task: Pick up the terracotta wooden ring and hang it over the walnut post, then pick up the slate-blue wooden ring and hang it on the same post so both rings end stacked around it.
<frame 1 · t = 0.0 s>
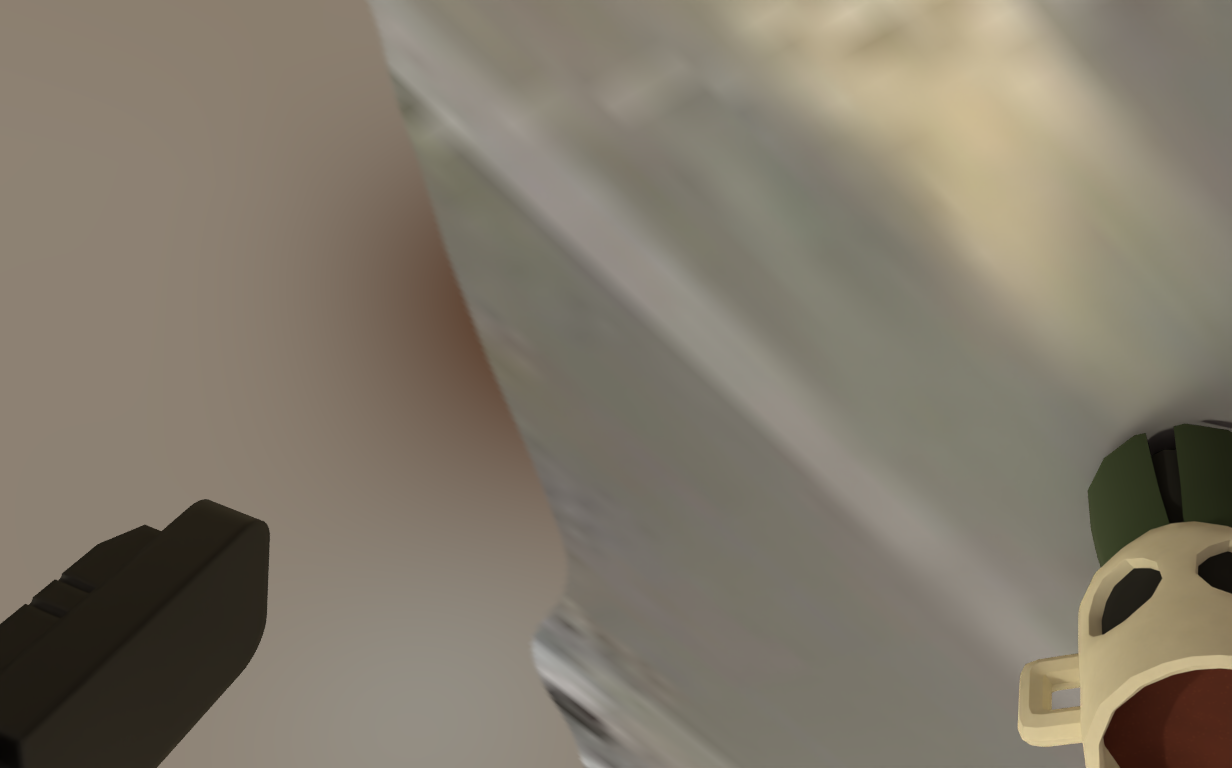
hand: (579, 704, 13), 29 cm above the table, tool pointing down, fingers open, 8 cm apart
character mug: (1183, 492, 40), on the table
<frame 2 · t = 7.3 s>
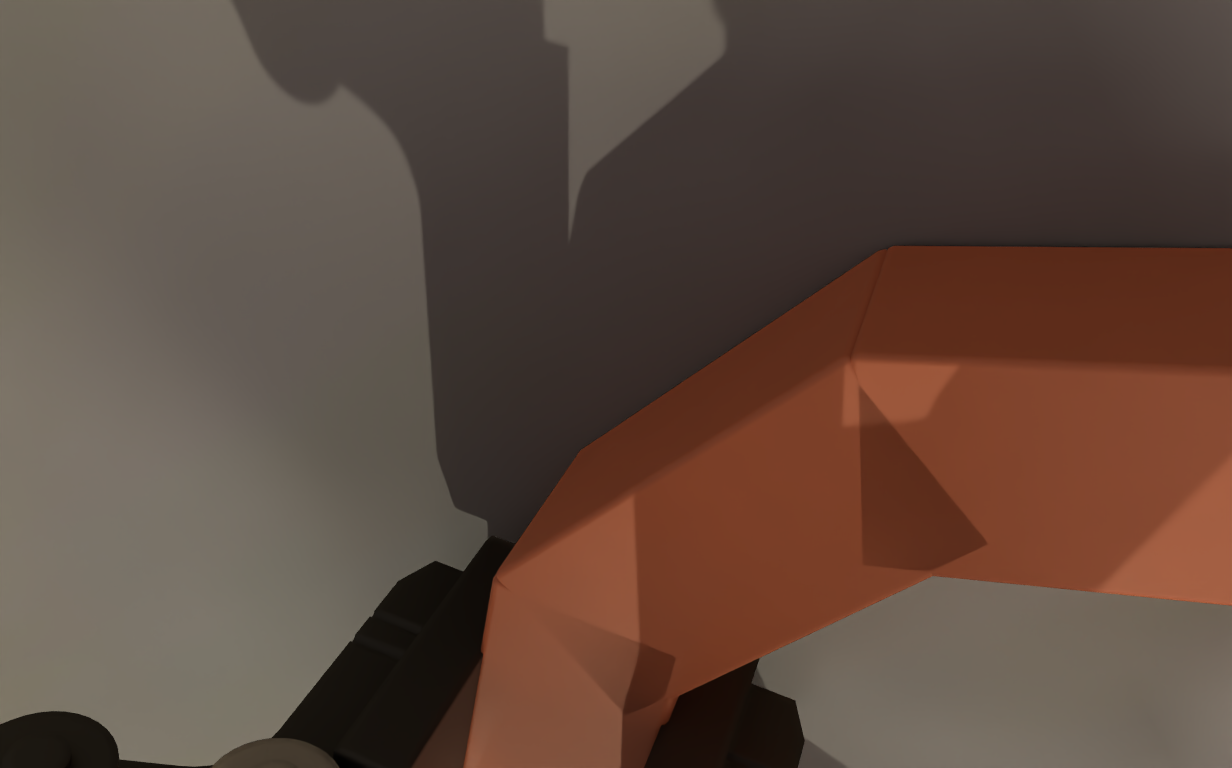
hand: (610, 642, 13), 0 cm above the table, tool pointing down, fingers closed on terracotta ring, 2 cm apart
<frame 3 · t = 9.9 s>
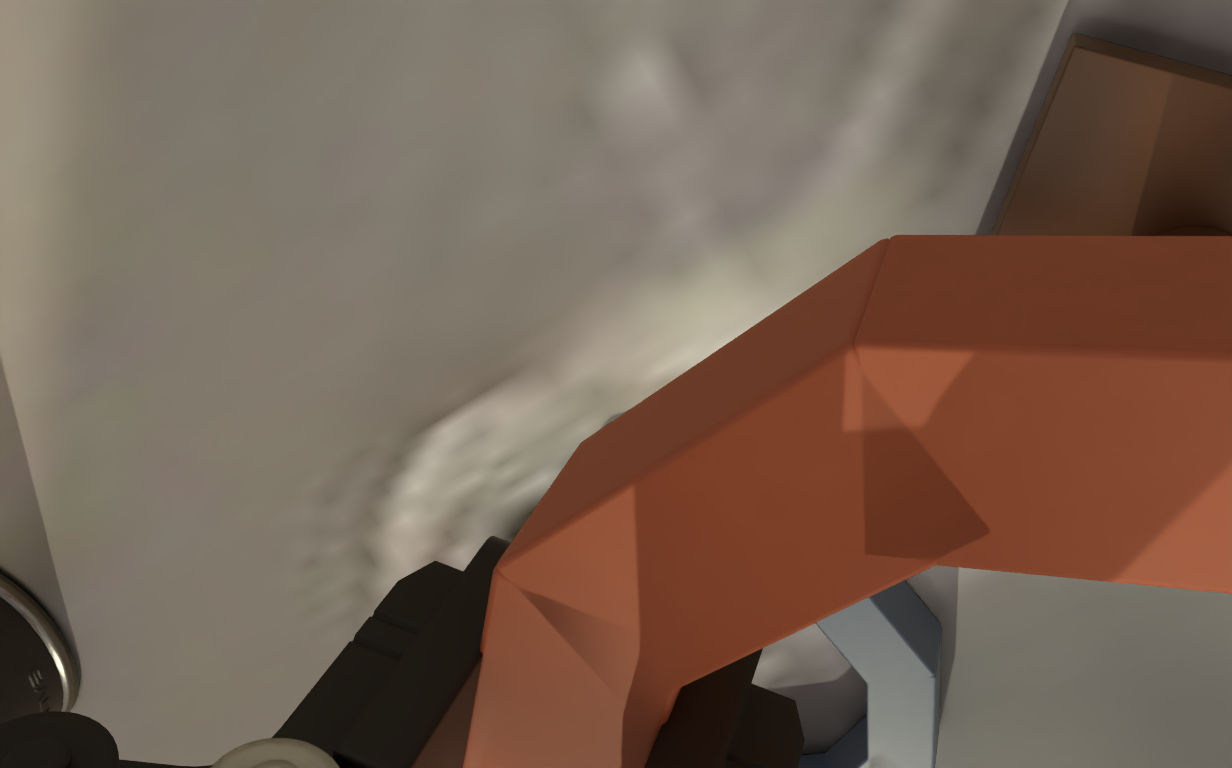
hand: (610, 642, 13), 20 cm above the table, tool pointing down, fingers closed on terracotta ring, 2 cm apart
slate ring: (737, 652, 38), on the table
post: (1181, 263, 28), on the table
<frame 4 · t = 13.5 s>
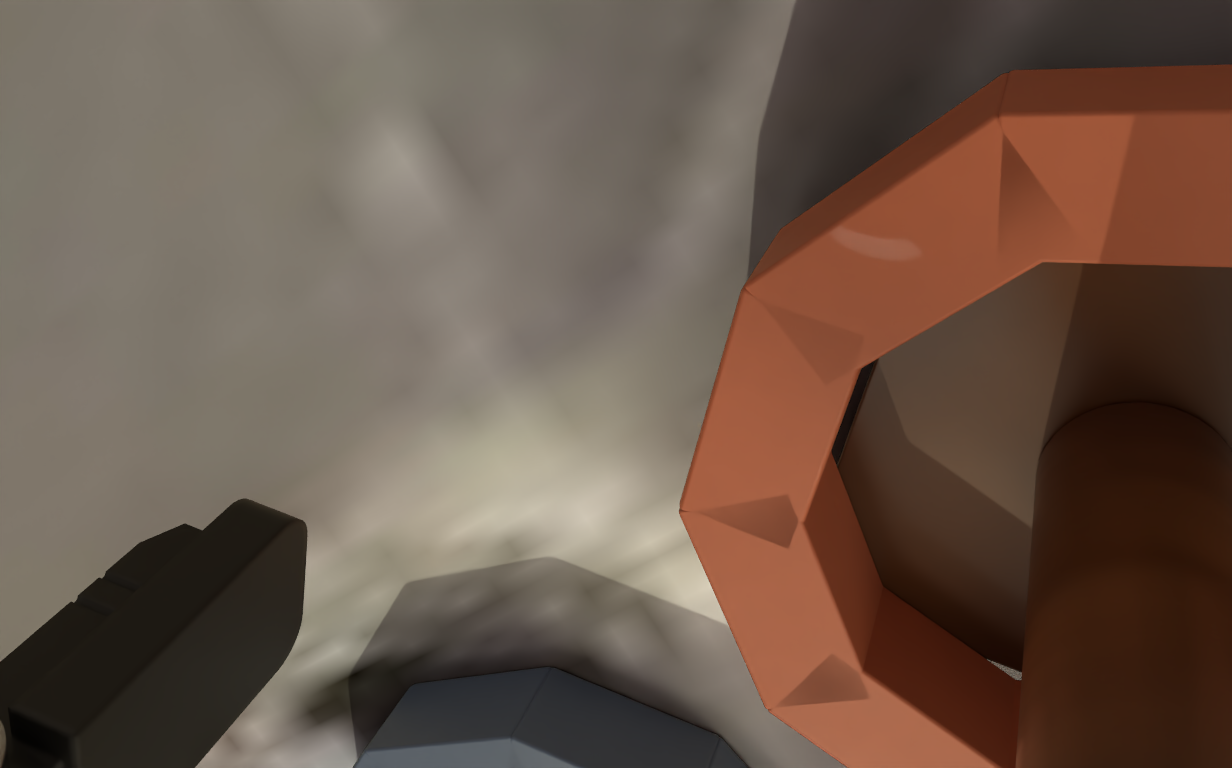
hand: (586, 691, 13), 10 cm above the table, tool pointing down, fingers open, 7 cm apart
terracotta ring: (1126, 474, 19), point 1 cm above the table, touching post
post: (1131, 436, 20), on the table
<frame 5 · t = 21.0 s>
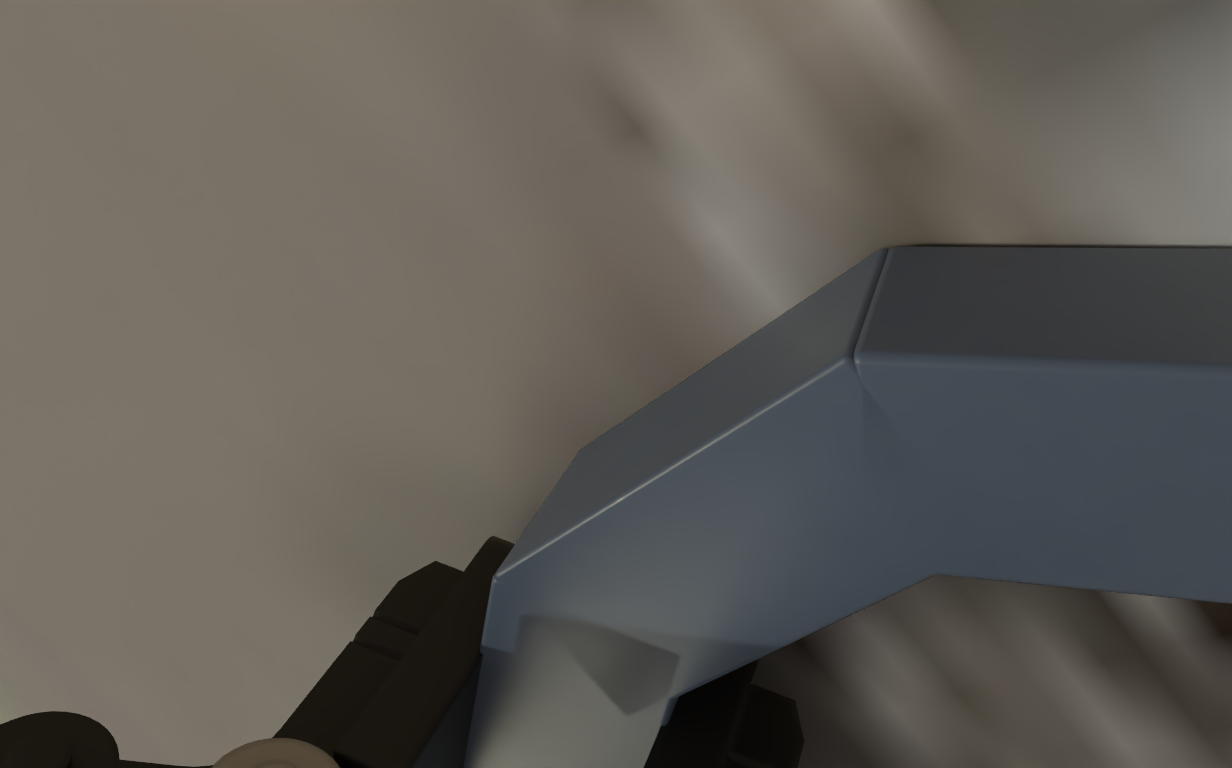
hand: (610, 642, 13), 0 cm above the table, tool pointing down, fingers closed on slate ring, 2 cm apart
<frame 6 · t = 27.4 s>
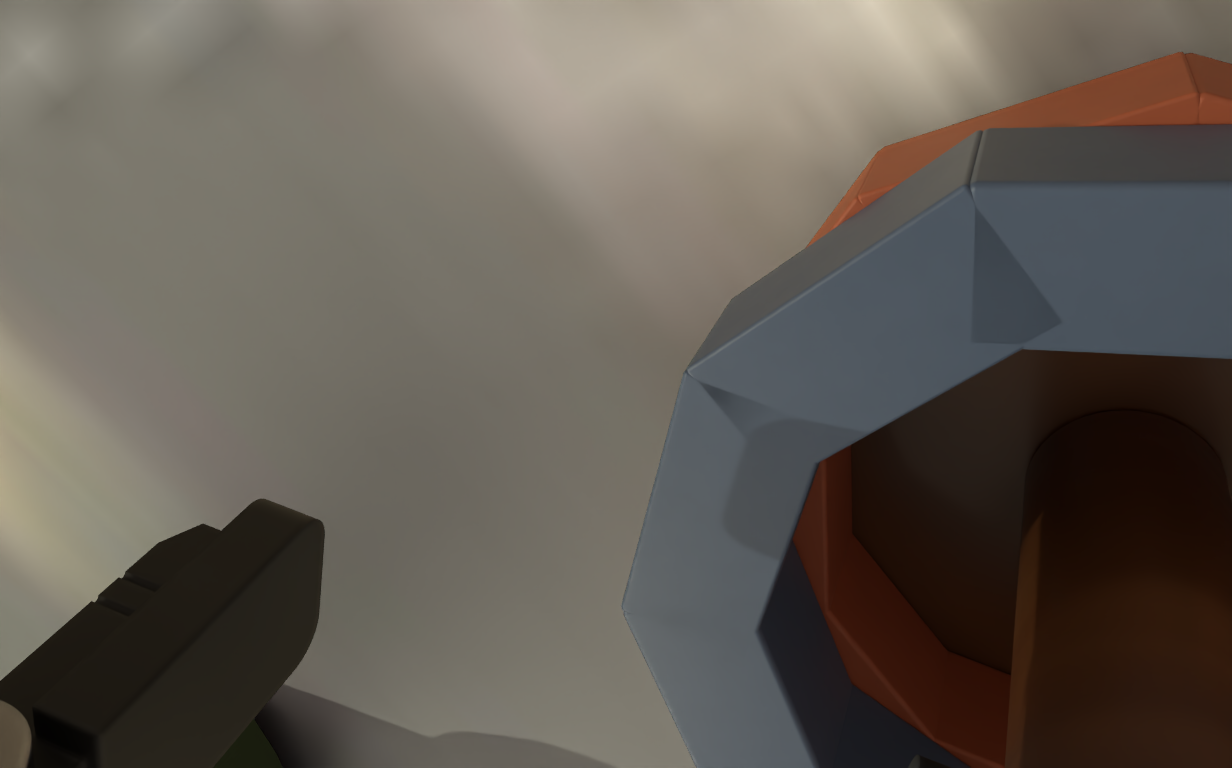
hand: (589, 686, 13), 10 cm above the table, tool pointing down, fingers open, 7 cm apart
slate ring: (1118, 570, 17), point 4 cm above the table, touching terracotta ring
character mug: (220, 739, 33), on the table
terracotta ring: (1134, 484, 19), point 1 cm above the table, touching post, slate ring
post: (1120, 445, 20), on the table
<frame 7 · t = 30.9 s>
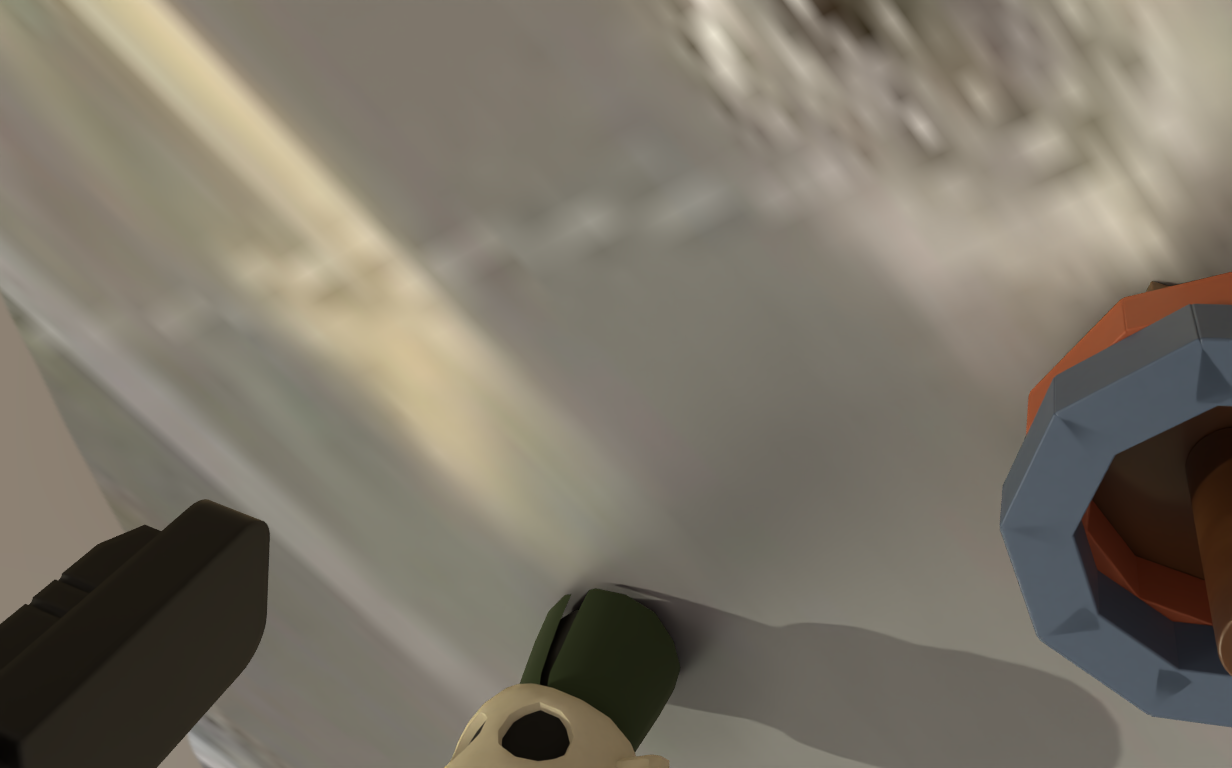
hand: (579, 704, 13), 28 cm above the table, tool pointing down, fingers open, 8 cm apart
character mug: (617, 636, 51), on the table
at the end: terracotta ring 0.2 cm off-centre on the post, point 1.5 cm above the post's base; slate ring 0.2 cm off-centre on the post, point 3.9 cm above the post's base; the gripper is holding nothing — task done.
